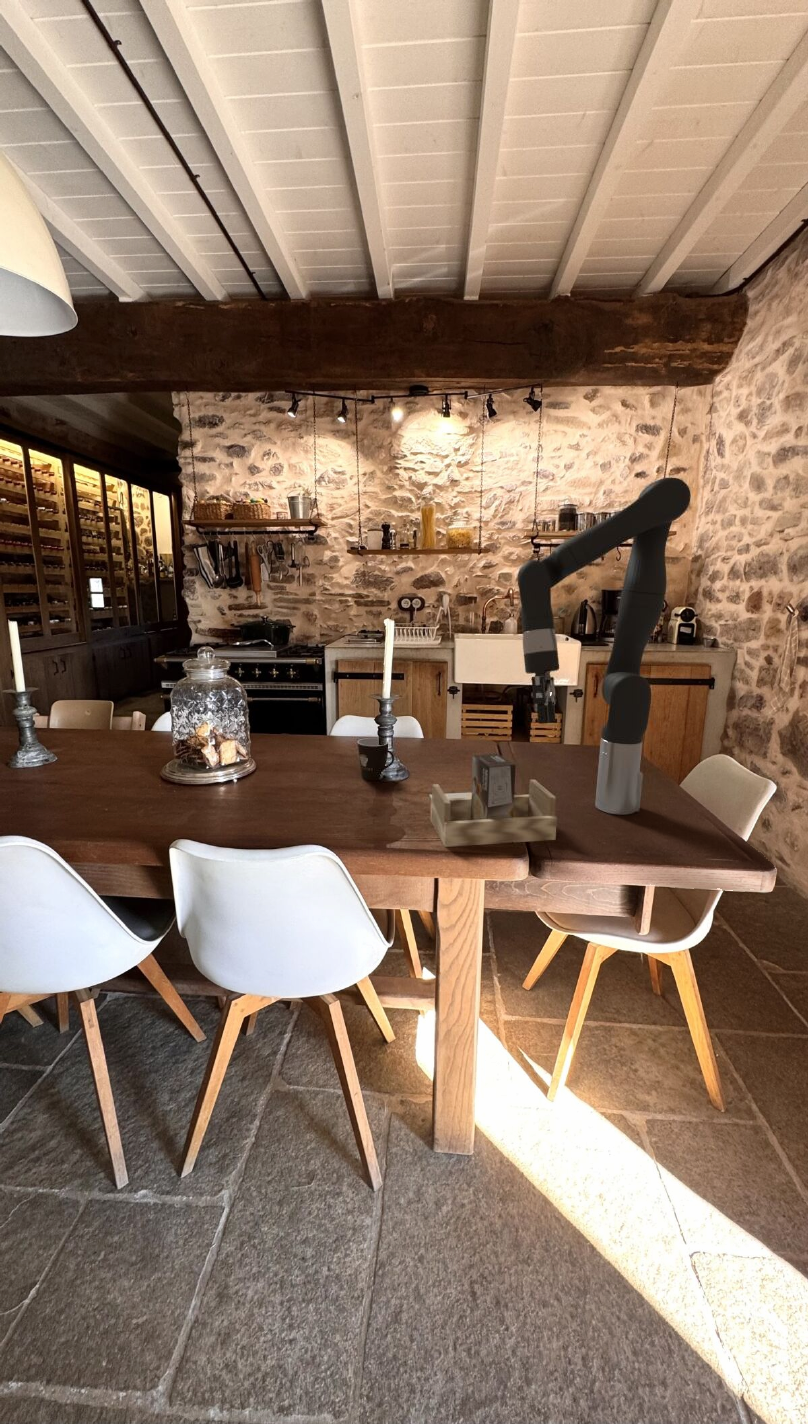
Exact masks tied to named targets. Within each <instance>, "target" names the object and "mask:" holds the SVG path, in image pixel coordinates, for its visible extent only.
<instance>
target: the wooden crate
mask: <svg viewBox="0 0 808 1424" xmlns="http://www.w3.org/2000/svg"><path fill="white" fill-rule="evenodd" d="M431 790H432V791H431V793H432V799H431V798H430V822H431V824H432V825H433V828H434V829H435V831H436V833H437V835H438V836H439V838H440V840H441V843H442V844H443V846H444V847H445V848H448V847H464V846H465V847H466V846H478V845H493V844H495V845H496V844H497V845H498V844H508V843H509V844H510V842H511V844H512V842H513V843H524V842H525V843H527V842H542V841H543V842H544V841H556V836H557V821H558V816H557V815H555V814H556V801H557V797H556V796H555V795H554V794H552V793H551V792H550V790H548V789H547V788H545V787H544V786H543V785H542V784H541V783H540V782H538V781H537V780H536V779H529V786H528V794H514V809H513V818H501V819H483V820H471V800H472V797H469V798H449V799H448V798H447V797H446V796H445V794H446V793H445V792H444V791H443V789H442V788H441V787H440V785H439V784H438V783H436V784H435V783H433V784H432V789H431Z"/></svg>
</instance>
